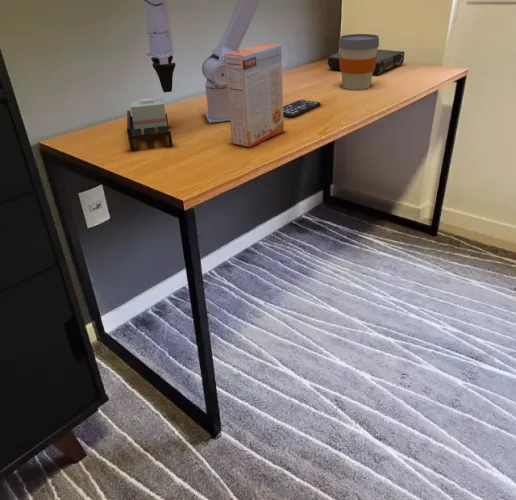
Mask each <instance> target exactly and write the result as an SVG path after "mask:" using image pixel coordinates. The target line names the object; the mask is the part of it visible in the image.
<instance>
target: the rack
mask: <svg viewBox="0 0 516 500" xmlns="http://www.w3.org/2000/svg"><path fill="white" fill-rule="evenodd" d="M126 114H127V115H126V132H127V136H128V137H127V138H128V142H129V148H130V152H135V146H134V141H135V140H136V141H137V140H145V139H155V138H163V137H167V140H168V147H169V148H172V147H174V144H173V138H172V131H171V130H170V129H169V127H170V126H169V121H168V115H167V112H165V114H166V120H167V126H162V127H156V128H157V131H156V129H155V127H153V128H144V129H143V133H142V129H134V124H133V118H132V113H131V109H130V110H126Z"/></svg>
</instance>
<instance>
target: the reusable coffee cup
mask: <svg viewBox="0 0 516 500" xmlns="http://www.w3.org/2000/svg"><path fill="white" fill-rule="evenodd" d="M379 47H380V36H379V35H377V34H370V33H352V34H351V33H350V34H345V35H341V36H340V37H339V41H338V48H339V53H340V56H339V64H340V71H339V72H341V85H342V88H344V89H347V90H356V91H357V90H366V89H368V88H370V87H371V83H372V78H373V75H372V74H373V71H374V70H375V65H376V60H377V55H376V54H377V49H378V48H379Z"/></svg>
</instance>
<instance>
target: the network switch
mask: <svg viewBox="0 0 516 500" xmlns="http://www.w3.org/2000/svg"><path fill="white" fill-rule="evenodd" d="M376 55H377V60H376V65H375V70H374V71H373V74H372V76H378V75H379V74H381V73H383V72H385V71H387V70H389V69H391V68H394V67H396V66H398V65H403V64H404V61H405V51H402V50H389V49H377V54H376ZM339 56H340V52H337V53H334V54H331V55H329V56H328V58H327V65H328V67H329V68H330V69H331V70H333V71H337V72H341V71H340V64H339Z"/></svg>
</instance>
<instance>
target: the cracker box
mask: <svg viewBox="0 0 516 500" xmlns="http://www.w3.org/2000/svg"><path fill="white" fill-rule="evenodd" d="M224 56H225V67H226V78H227V89H228V100H229V111H230V121H229V122H230V131H231V142H232V145H236V146H241V147H246V148H252V147H253V146H254V147H255V146H256V145H258V144H260V143H262V142H264V141H266V140H268V139H270V138H272V137H274V136H277V135H279V134H280V133H283V132H284V131H285V129H284V124H285V123H284V116H283V107H284V97H283V96H284V94H283V64H282V63H283V62H282V59H283V58H282V44H279V43H278V44H276V43H275V44H274V43H266V42H265V43H264V42H263V43H259V44H256V45H252V46H249V47H245V48H242V49H241V48H240V49H238V51H234V52H230V53H226V54H225V55H224Z"/></svg>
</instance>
